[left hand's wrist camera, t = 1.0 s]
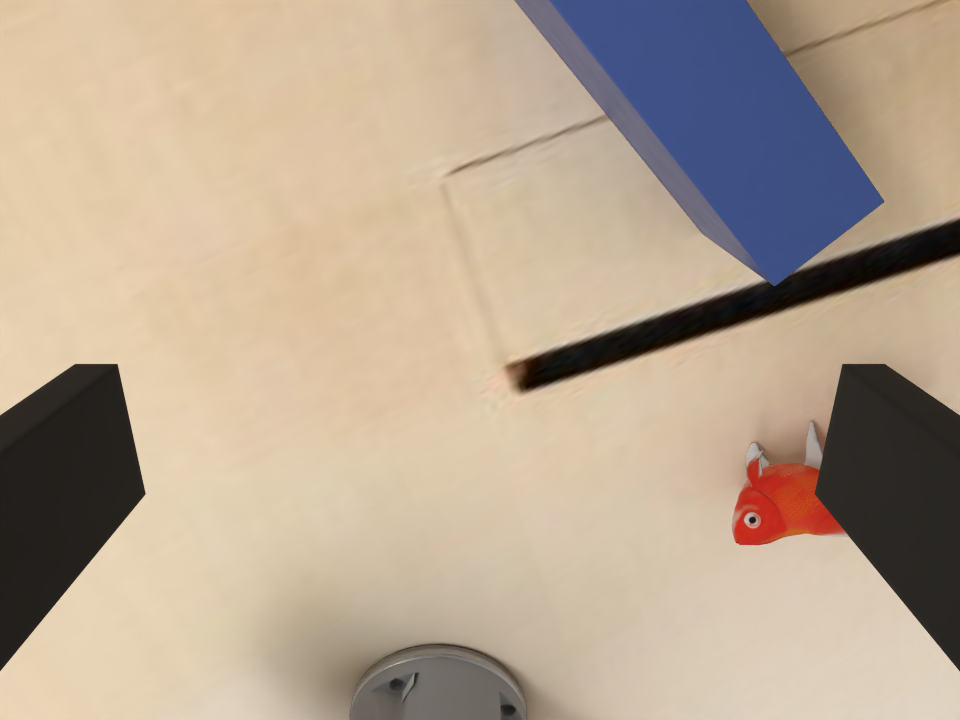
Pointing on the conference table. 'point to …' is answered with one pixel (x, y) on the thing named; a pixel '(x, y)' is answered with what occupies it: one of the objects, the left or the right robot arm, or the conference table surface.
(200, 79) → the conference table surface
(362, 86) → the conference table surface
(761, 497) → the fish
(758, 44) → the box
